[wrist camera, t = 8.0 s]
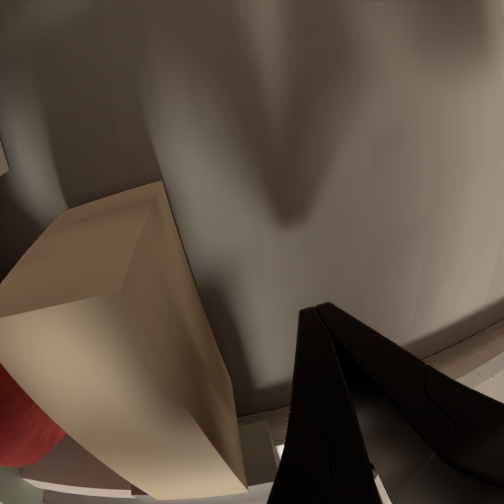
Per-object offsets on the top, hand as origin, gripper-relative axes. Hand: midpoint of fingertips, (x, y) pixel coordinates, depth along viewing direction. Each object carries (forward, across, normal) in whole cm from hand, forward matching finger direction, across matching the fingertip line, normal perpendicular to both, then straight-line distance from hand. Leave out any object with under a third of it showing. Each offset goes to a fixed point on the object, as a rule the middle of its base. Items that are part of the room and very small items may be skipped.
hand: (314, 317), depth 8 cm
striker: (+2, +5, +3) cm, 6 cm away
